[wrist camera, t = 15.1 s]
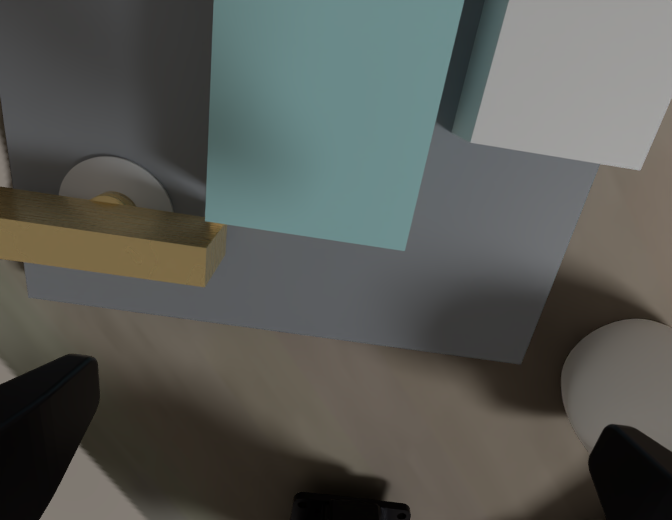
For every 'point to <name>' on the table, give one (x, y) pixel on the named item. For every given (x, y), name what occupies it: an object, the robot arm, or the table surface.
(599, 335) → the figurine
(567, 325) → the table surface
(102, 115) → the panel
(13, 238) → the yellow rectangular block
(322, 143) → the cover
